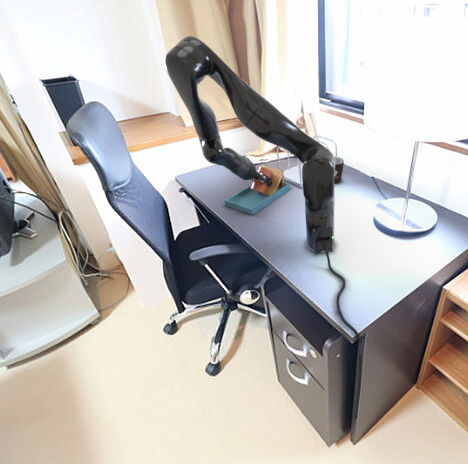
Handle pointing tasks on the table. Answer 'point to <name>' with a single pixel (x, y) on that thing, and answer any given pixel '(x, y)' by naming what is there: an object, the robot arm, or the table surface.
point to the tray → (253, 199)
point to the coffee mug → (338, 169)
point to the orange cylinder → (259, 186)
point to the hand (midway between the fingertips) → (264, 182)
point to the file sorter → (298, 167)
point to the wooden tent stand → (275, 180)
